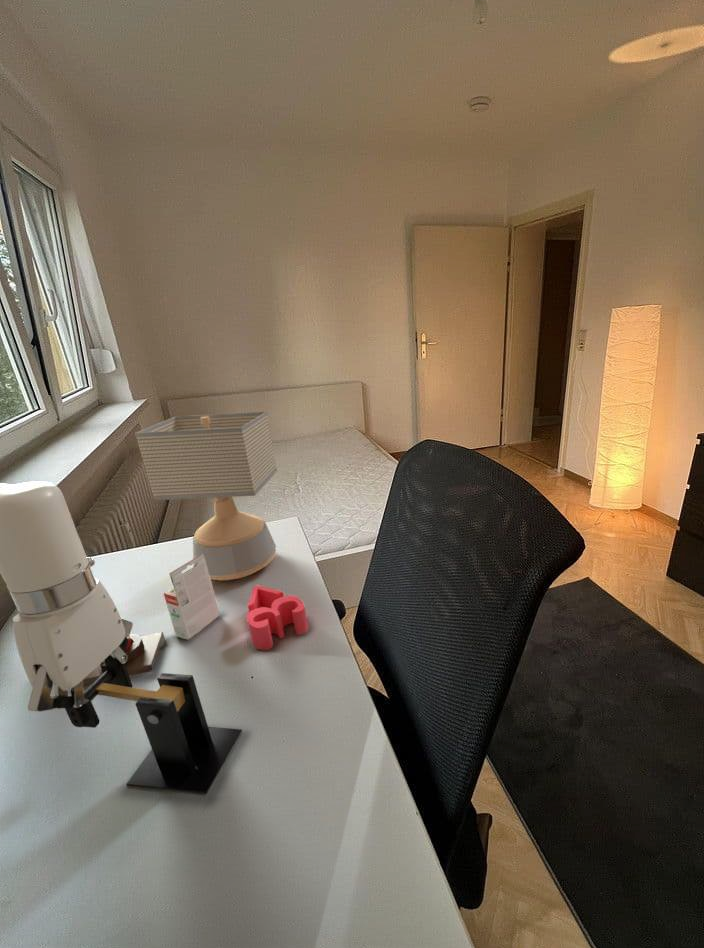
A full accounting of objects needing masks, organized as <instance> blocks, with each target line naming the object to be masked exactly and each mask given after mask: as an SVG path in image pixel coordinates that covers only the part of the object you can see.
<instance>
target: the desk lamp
mask: <svg viewBox="0 0 704 948" xmlns="http://www.w3.org/2000/svg"><path fill="white" fill-rule="evenodd" d="M134 436H135V438H136V441H137V445H138V448H139V452H140V455H141V459H142V462H143V466H144V469H145V472H146V476H147V479H148V484H149V486H150V490H151V493H152V499H153V501H170V500H171V501H173V500H190V499H191V500H193V499H211V498H212V499H213V498H215V499H214V500H213V506H214V516H212V517H211V518H210V519H209V520H207V521H206V522H204V524H202V525H201V526H200V527H198V528H197V529H196V531H195V533H194V534H193V535H194V536H193V537H192V560H193V559H194V558H196V557H198V556H199V555H201V554H204V557H205V561H206V565H207V569H208V572H209V575H210V578H211V581H233V580H239V579H242V578H246V577H249V576H251V575H253V574H254V573H256V572H258V571H260V570H261V569H263V568H265V567H266V566H268V565H269V564H270V563H271V562H272V561H273V560H274V559H275V558H276V552H277V549H276V547H277V545H276V543H275V540H274V539H273V536H272V533H271V531H270V530H269V527H268V525H267V523H266V522H265V521H264V519H263V518H261V516H259V515H256V514H252V513H247V512H244V511H240V510H238V509H237V506H236V504H235V501H234V499H233V498H235V497H237V498H238V497H256V495H257V494H258V493H259V492H260V491H261V490H262V489H263V488H264V486H265V485H266V484H267V483H268V482H269V481H270V480H271V478H273V476H274V475H275V474H276V473H277V472H278V467H277V464H276V458H275V452H274V447H273V440H272V435H271V430H270V423H269V418H268V411H252V412H251V411H249V412H233V413H232V412H231V413H216V414H215V413H213V414H195V415H177V416H173V417H170V418H168V419H165V420H163V421H160V422H159V423H156V424H153V425H151V426H149V427H146V428H143V429H141V430H139V431H136V432H134ZM195 565H196V563H194V564H192V566H193V567H194V566H195Z"/></svg>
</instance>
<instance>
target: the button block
mask: <svg viewBox="0 0 704 948" xmlns="http://www.w3.org/2000/svg"><path fill="white" fill-rule="evenodd" d="M129 636H130V639H131V641H132V646H131V647H130V648H129V649H128V650H126V652H125V654H126V655H127V661H126V662H125V663H124V664H125V666H126V669H127V671H128V674H129V677H131V676H133V675H139V674H142V673H147V672H151V671H154V669H155V665H156V663H157V660H158V657H159V654H160V651H161V648H162V647H163V648H164V647H165V644H166V638H165V634H164V631H158V632H154V633H150V634H144V635H140V634H139V633H138V634H137V633H130V635H129ZM103 664H105V663H104V662H102V663H100V664H99V665H98V666H97V667H96V668H95V669H94V670H93V671H92V672H91V673H90V674H89V675H88V676H86V677H85V678H84V679H83V687H85V686H89V685H90V686H91V685H92V684H93V683H94V682H95V681H96V680H97V679H98V678H99V677H100V676H101V675H102V674H103V672H102V670H101V669H102V668H101V666H102V665H103Z"/></svg>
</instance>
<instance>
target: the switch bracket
mask: <svg viewBox="0 0 704 948" xmlns="http://www.w3.org/2000/svg"><path fill="white" fill-rule="evenodd" d="M156 680H157V683H158V685H159V688H160V687H161V686H162V685H169V686H175V687H181V688H183V692H184V698H185V703H184V704H183V705H182V707H181V708H180V709H179V711H178V712H177V710H176V707H175V704H174V701H173V700H167V699H153V698H140V699H139V700H138V701H135V707H136V710H137V713H138V715H139V718H140V720H141V723H142V726H143V729H144V731H145V734H146V736H147V739H148V742H149V745H150V747H151V750H150V752H149V753H148V754H147V755H146V756H145V758H144V760H143V761H142V762H141V763H140V765H139V766H138V767H137V769H136V770H135V772H134V773H133V774H132V776H131V777H130V778H129V780H128V781H127V783H126V786H129V787H130V786H131V787H141V788H151V789H158V790H167V791H176V792H177V791H178V792H186V793H194V794H195V793H196V794H202V795H207V794H208V793H209V791H210V789H211V787H212V786H213V783H214V781H215V780H216V778H217V776H218V774H219V773H220V771H221V769H222V767H223V766H224V764H225V762H226V760H227V759H228V756H229V754H230V753H231V751H232V749H233V748H234V746H235V744H236V742H237V740H238V739H239V737H240V735H241V733H242V731H243V730H242V729H241V728H240V729H239V728H229V727H228V728H226V727H217V726H209V725H208V722H207V719H206V715H205V713H204V712H205V711H204V708H203V705H202V702H201V698H200V695H199V692H198V689H197V685H196V683H195V678H194V676H193V674H182V673H181V674H179V673H168V672H167V673H166V672H165V673H164V672H162V673H160V675H158V677H157V679H156Z"/></svg>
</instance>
